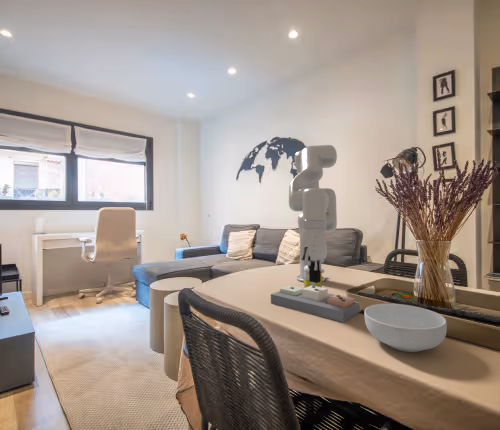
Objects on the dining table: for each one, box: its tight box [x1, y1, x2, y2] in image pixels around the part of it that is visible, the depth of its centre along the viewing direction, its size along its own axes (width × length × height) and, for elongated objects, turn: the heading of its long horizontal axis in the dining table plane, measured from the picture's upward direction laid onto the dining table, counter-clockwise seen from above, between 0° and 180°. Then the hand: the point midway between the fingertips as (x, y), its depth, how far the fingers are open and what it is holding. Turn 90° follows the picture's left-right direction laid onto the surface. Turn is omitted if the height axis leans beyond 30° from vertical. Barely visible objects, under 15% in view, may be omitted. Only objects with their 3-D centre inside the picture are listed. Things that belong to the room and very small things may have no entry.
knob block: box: [279, 285, 304, 296], centre depth 98 cm, size 6×6×4 cm
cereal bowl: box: [364, 303, 448, 353], centre depth 65 cm, size 17×17×7 cm
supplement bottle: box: [303, 266, 323, 288], centre depth 109 cm, size 7×7×13 cm
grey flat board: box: [270, 290, 361, 323], centre depth 92 cm, size 14×26×3 cm, turn 47°
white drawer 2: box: [302, 286, 329, 302], centre depth 92 cm, size 6×6×4 cm
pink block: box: [327, 294, 355, 308], centre depth 86 cm, size 6×6×4 cm
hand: (314, 281), depth 92 cm, fingers closed
